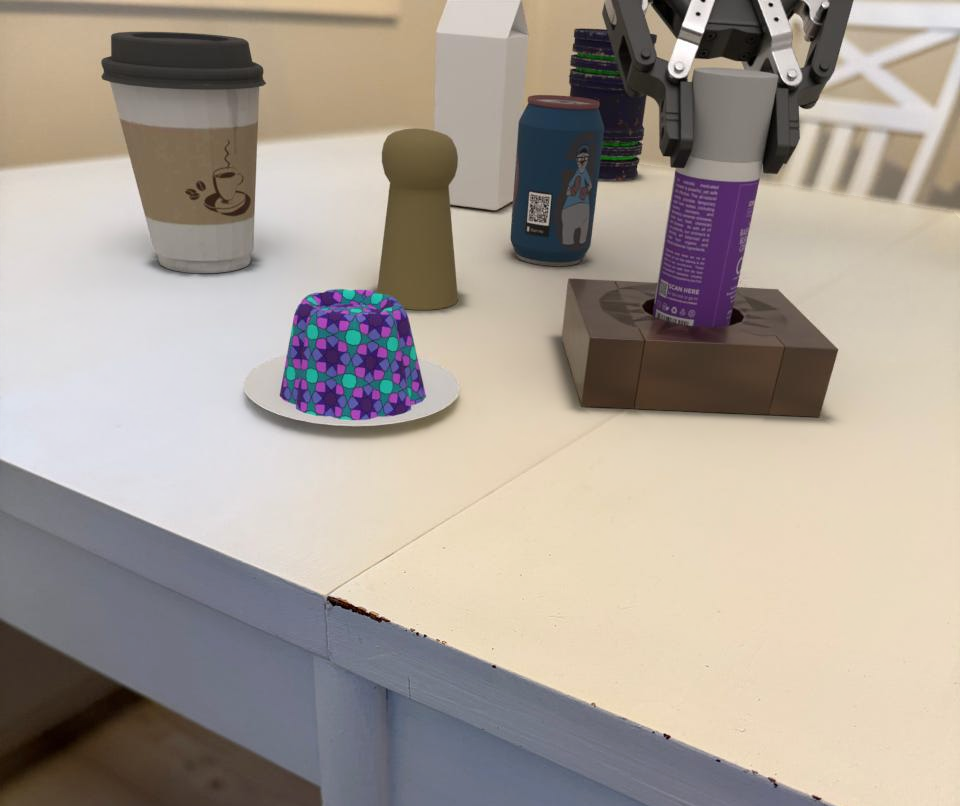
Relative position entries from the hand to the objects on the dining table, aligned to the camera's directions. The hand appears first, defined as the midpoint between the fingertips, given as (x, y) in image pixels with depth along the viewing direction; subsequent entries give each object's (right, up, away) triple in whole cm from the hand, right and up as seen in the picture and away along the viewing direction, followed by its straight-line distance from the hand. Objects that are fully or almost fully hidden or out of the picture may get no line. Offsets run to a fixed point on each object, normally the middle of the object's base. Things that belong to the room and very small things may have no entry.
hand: (729, 160), depth 50 cm
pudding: (-21, -12, +3) cm, 24 cm away
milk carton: (-14, +20, +49) cm, 55 cm away
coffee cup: (-35, +4, +24) cm, 43 cm away
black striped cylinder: (+1, +33, +67) cm, 75 cm away
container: (-1, -8, +8) cm, 11 cm away
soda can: (-7, +7, +31) cm, 33 cm away
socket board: (-1, -9, +9) cm, 13 cm away
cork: (-18, -1, +19) cm, 26 cm away
